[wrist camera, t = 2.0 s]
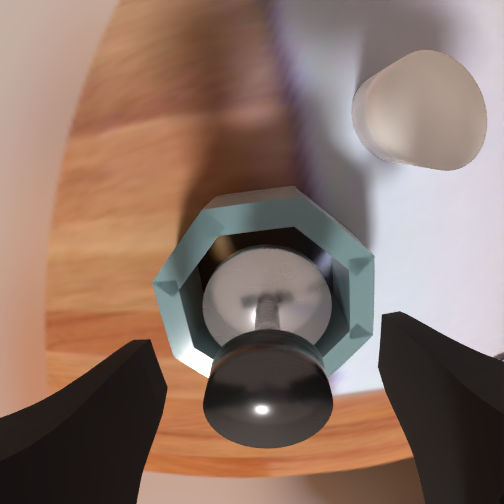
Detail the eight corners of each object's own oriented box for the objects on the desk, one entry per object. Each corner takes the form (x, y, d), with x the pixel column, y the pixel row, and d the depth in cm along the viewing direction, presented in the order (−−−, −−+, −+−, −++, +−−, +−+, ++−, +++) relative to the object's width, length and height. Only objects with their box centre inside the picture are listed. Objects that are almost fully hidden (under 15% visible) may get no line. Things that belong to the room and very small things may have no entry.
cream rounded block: (427, 75, 12) (476, 57, 8) (438, 161, 13) (491, 169, 9) (344, 73, 12) (375, 45, 8) (357, 165, 14) (394, 173, 10)
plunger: (325, 236, 12) (374, 311, 6) (330, 347, 13) (360, 452, 8) (193, 252, 12) (141, 336, 7) (217, 359, 14) (195, 465, 8)
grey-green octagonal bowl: (346, 179, 14) (371, 189, 11) (352, 366, 17) (366, 408, 14) (164, 203, 14) (137, 220, 11) (207, 381, 18) (198, 424, 14)
